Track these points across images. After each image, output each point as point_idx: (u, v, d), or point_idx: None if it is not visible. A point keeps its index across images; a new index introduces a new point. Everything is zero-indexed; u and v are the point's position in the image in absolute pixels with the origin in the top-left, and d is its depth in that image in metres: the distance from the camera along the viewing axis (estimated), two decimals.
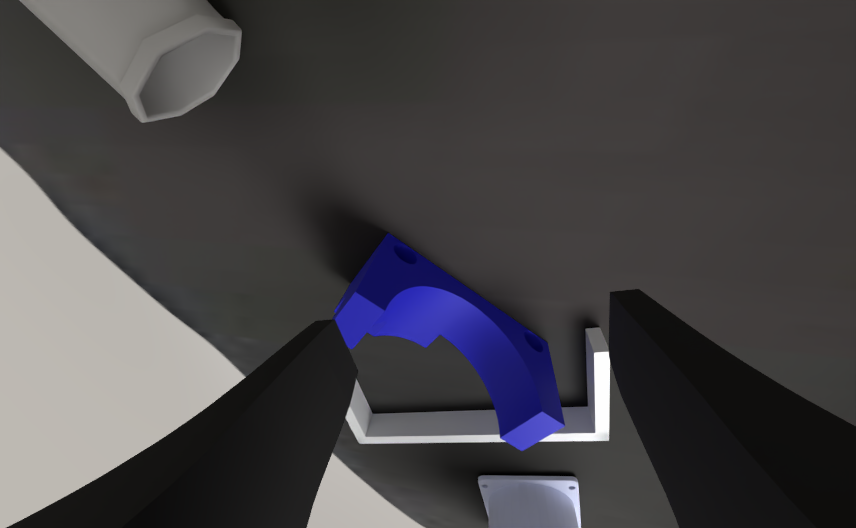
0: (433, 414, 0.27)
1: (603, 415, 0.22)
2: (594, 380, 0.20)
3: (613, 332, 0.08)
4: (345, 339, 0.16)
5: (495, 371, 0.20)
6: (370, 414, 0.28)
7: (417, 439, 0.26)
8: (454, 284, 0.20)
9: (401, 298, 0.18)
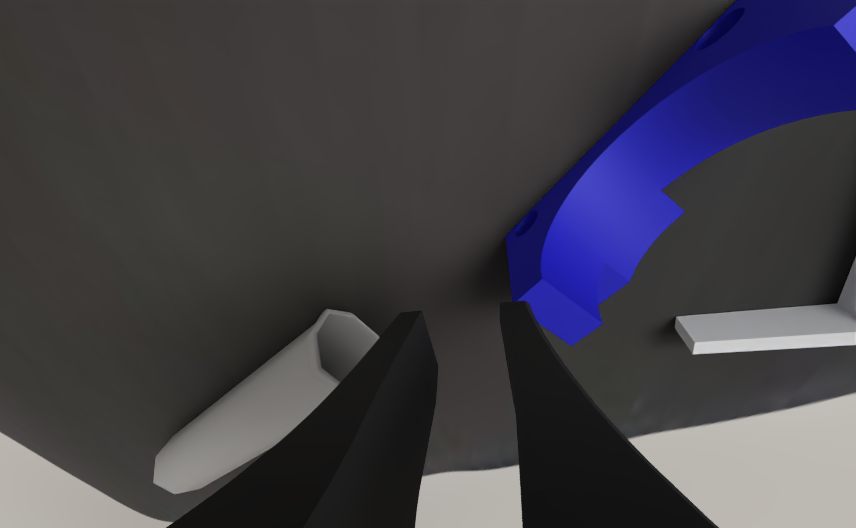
0: None
1: None
2: None
3: None
4: (584, 327, 0.13)
5: (749, 107, 0.11)
6: (834, 307, 0.17)
7: None
8: (580, 165, 0.15)
9: (565, 243, 0.14)
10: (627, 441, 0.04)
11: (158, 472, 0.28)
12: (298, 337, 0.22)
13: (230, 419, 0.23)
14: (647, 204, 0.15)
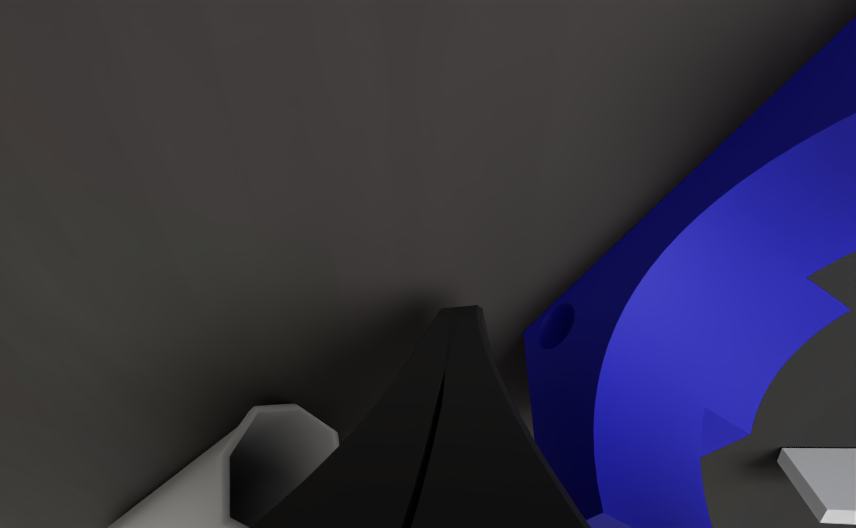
0: None
1: None
2: None
3: None
4: None
5: None
6: None
7: None
8: (645, 236, 0.09)
9: (632, 388, 0.08)
10: (532, 442, 0.05)
11: None
12: (222, 440, 0.16)
13: None
14: (777, 300, 0.08)
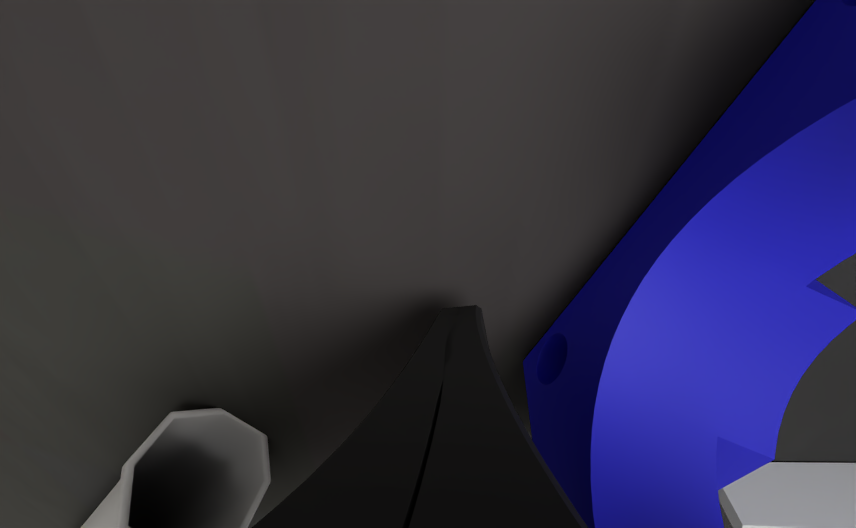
0: None
1: None
2: None
3: None
4: None
5: None
6: None
7: None
8: (626, 260, 0.08)
9: (632, 427, 0.07)
10: (530, 442, 0.05)
11: None
12: None
13: None
14: (779, 313, 0.08)
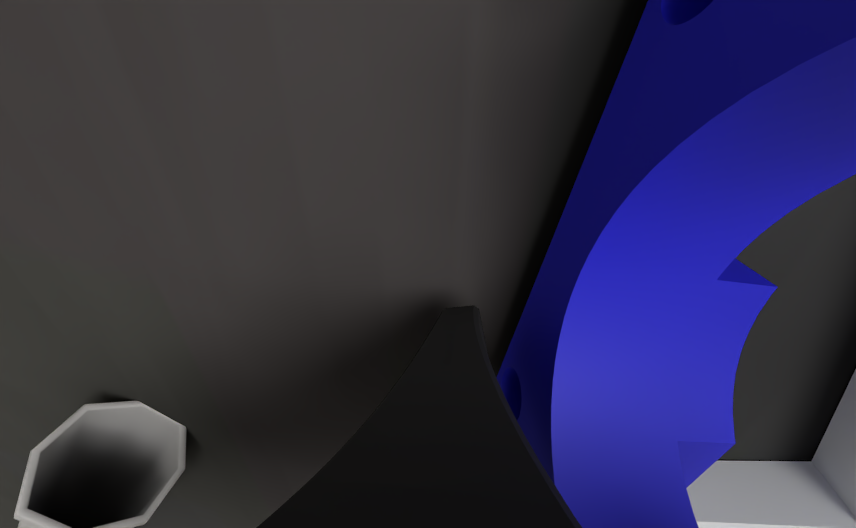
0: None
1: None
2: None
3: None
4: None
5: None
6: (806, 470, 0.12)
7: None
8: (548, 293, 0.08)
9: (593, 464, 0.07)
10: (525, 442, 0.05)
11: None
12: None
13: None
14: (701, 308, 0.08)
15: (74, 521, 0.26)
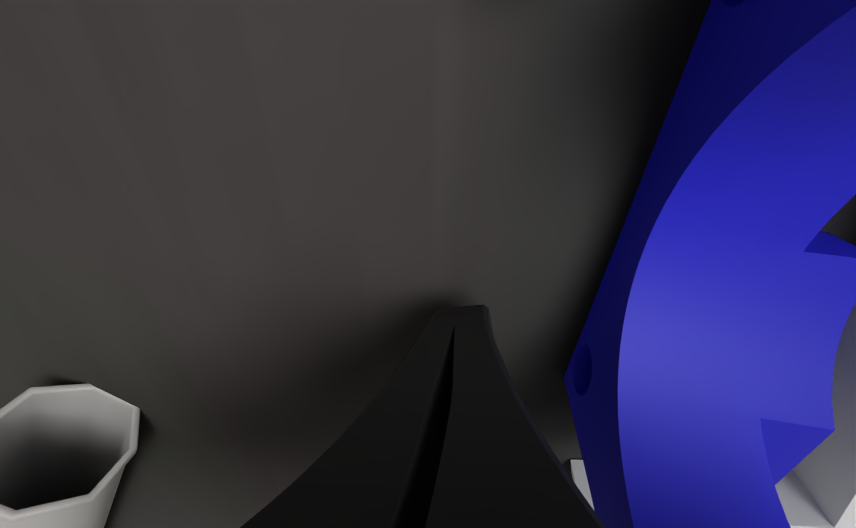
0: (838, 360, 0.10)
1: None
2: None
3: None
4: None
5: None
6: None
7: None
8: (618, 266, 0.09)
9: (661, 426, 0.08)
10: (543, 442, 0.05)
11: None
12: None
13: None
14: (787, 282, 0.08)
15: None
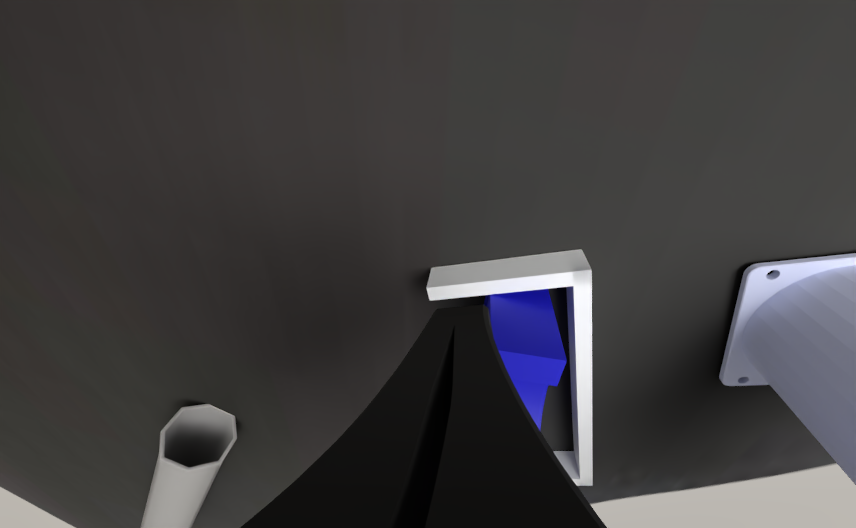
0: (572, 408, 0.23)
1: (535, 281, 0.17)
2: (473, 294, 0.18)
3: None
4: None
5: None
6: (569, 455, 0.26)
7: (585, 443, 0.22)
8: None
9: None
10: (543, 442, 0.05)
11: None
12: (175, 429, 0.30)
13: (151, 497, 0.31)
14: (522, 385, 0.21)
15: None
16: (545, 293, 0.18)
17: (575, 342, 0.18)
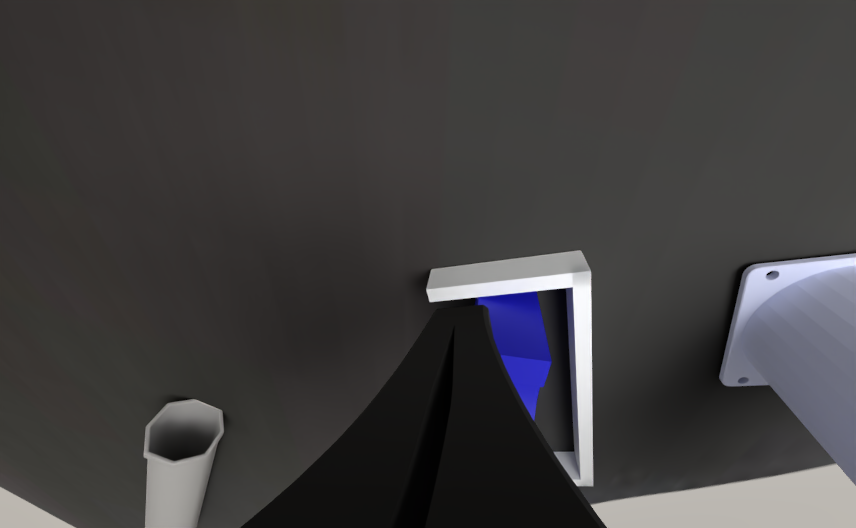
0: (572, 408, 0.23)
1: (534, 282, 0.17)
2: (473, 296, 0.18)
3: None
4: None
5: None
6: (570, 455, 0.26)
7: (585, 443, 0.22)
8: None
9: None
10: (543, 442, 0.05)
11: None
12: (165, 426, 0.30)
13: None
14: None
15: None
16: (533, 295, 0.18)
17: (575, 343, 0.18)
